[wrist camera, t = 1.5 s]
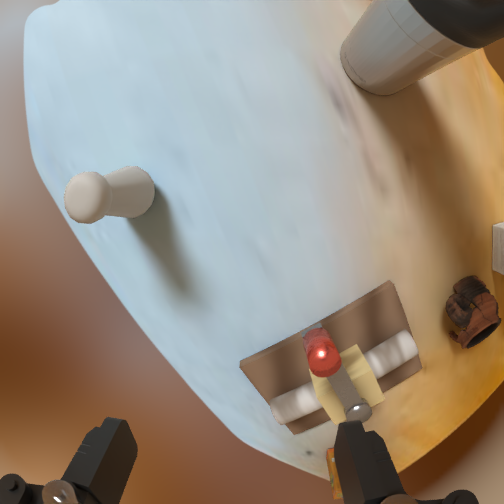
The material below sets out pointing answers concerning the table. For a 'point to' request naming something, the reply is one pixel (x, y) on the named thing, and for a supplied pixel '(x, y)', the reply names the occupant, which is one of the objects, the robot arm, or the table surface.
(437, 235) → the table surface
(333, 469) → the supplement box
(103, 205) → the salt shaker
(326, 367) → the valve lever
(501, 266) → the supplement box
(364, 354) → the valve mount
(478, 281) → the pottery mug
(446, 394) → the table surface
